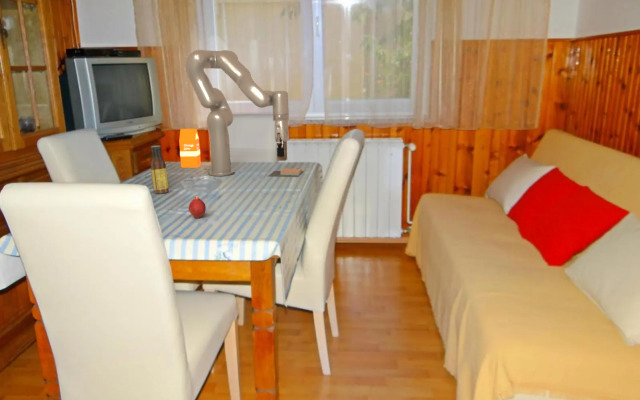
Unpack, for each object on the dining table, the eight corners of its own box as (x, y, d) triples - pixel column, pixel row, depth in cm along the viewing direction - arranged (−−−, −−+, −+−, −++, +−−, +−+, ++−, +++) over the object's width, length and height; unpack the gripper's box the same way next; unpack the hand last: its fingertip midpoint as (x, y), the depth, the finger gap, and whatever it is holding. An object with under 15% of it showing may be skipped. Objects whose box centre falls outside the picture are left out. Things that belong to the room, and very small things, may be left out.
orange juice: (197, 167, 276) (194, 129, 271) (181, 167, 276) (178, 129, 271) (201, 164, 283) (198, 127, 278) (185, 164, 283) (182, 128, 278)
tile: (280, 171, 249) (298, 172, 248) (284, 168, 257) (302, 168, 255) (280, 174, 249) (298, 175, 248) (284, 171, 257) (302, 172, 256)
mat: (267, 178, 247) (267, 176, 246) (274, 172, 260) (274, 170, 260) (298, 178, 244) (298, 177, 244) (304, 172, 258) (304, 171, 257)
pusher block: (277, 160, 250) (276, 139, 248) (279, 159, 254) (278, 138, 251) (285, 160, 249) (284, 140, 247) (287, 159, 253) (286, 138, 251)
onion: (190, 216, 184) (189, 194, 182) (207, 215, 185) (205, 193, 183) (188, 220, 179) (186, 198, 177) (205, 220, 179) (203, 197, 177)
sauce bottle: (171, 191, 222) (168, 145, 217) (163, 194, 216) (158, 147, 211) (159, 190, 224) (154, 144, 219) (149, 193, 219) (145, 146, 214)
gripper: (284, 119, 238) (285, 158, 242) (292, 115, 254) (293, 153, 258) (268, 119, 239) (269, 158, 244) (277, 115, 255) (278, 152, 260)
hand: (281, 155), depth 251 cm, fingers closed on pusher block, 4 cm apart
